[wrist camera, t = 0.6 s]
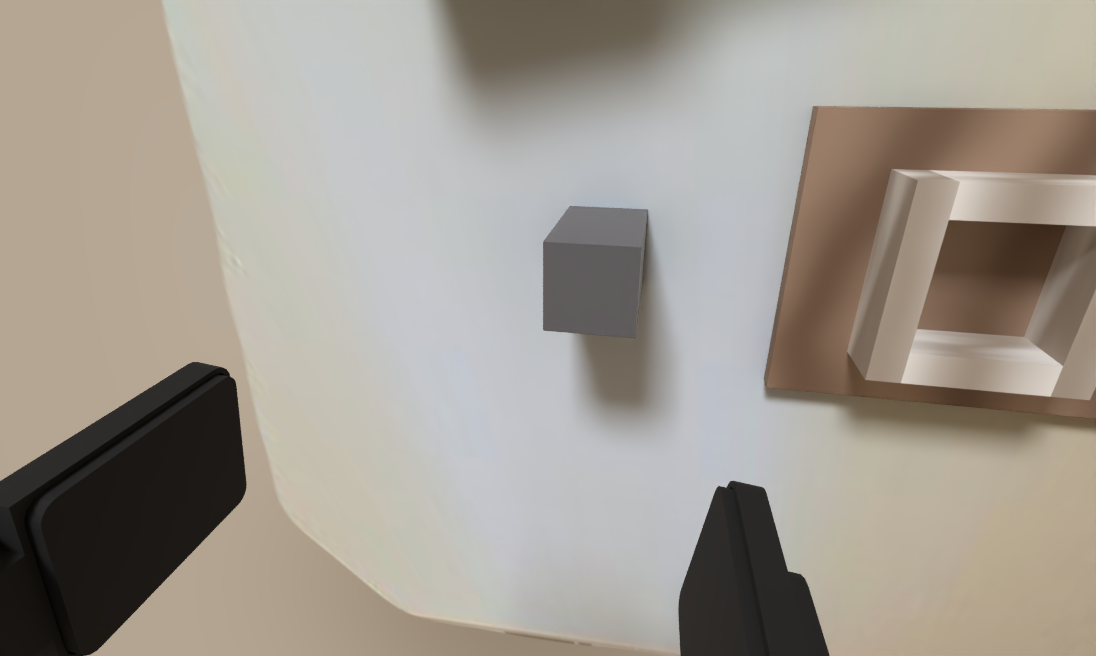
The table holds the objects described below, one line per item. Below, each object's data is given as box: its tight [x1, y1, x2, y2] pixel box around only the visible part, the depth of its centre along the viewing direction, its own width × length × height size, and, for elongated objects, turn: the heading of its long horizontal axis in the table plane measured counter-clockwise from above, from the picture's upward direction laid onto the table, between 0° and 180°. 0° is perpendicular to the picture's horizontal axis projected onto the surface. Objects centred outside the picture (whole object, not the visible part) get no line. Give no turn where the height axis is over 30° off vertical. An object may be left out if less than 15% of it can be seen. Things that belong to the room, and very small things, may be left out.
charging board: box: [764, 106, 1096, 419], centre depth 25 cm, size 20×14×4 cm
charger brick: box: [543, 206, 648, 338], centre depth 27 cm, size 4×4×7 cm
